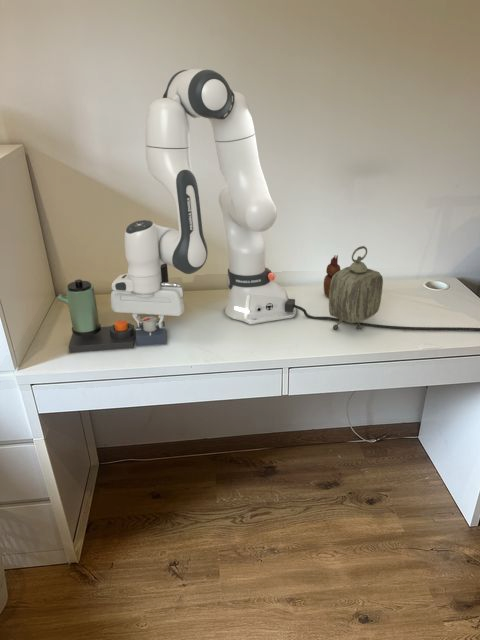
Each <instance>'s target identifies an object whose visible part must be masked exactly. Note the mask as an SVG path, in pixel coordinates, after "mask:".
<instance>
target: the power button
mask: <svg viewBox="0 0 480 640" xmlns="http://www.w3.org/2000/svg"><path fill="white" fill-rule="evenodd" d="M128 323H129V322H128V321H127V320H126V319H119V320H115V321H114V322H113V325H115V330H116V331H124V330H127V329H128Z"/></svg>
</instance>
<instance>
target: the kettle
mask: <svg viewBox="0 0 480 640" xmlns="http://www.w3.org/2000/svg"><path fill="white" fill-rule="evenodd" d="M65 294H66V296H64V295H62V294H60V293H59V294H58V296H57V298H56V300H58V301H60V302H61V303H64V304H65V305H68V310H69V316H70V320H71V321H70V322H71V332H72V334H74V335H77V336H90V335H94V334H96V333H98V332H99V331H100V330H101V327H102V325H101V323H100V319H99V313H98V307H97V301H96V293H95V288H94V284H93V283H92V282H90V281H88V280H82V279H75V280H74V281H72V282H70V283H68V284H67V285H66V286H65Z"/></svg>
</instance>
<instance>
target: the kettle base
mask: <svg viewBox="0 0 480 640" xmlns="http://www.w3.org/2000/svg"><path fill="white" fill-rule="evenodd" d="M127 323H128V329H127V330H124V331H116V330H115V325H114V324H112V325H111V326H108V325H107V326H101V330H100V331H99V332H98V333H96V334H94V335H90V336H77V335H74V334H73V333H72V334H71V337H70V340H69V344H68V350H69V351H68V352H69V353H70V354H75V353H87V352H88V353H89V352H100V351H103V352H104V351H114V350H115V351H117V350H128V349H129V350H130V349H134V342H135V324H131V322H127Z"/></svg>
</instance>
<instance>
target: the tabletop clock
mask: <svg viewBox="0 0 480 640" xmlns="http://www.w3.org/2000/svg"><path fill="white" fill-rule="evenodd" d="M359 250H365V253H364V255H363V256H362V257H361V255H358V256H357V258H356V259H354V256H355V254H356V253H357V252H358V251H359ZM367 255H368V248H367V247H366V246H365V245H361V246H359V247H356V249H354V251H353V252H352V254H351V261H352V263H351V264H350V265H349V266H346V267H344V268H342V269H340V271H338V272H337V273H335V274H334V275H333V277H332V280H331V285H330V292H329V297H328V314H329V316H330V317H333V318H338V319H340V320H339V321H337V323H336V324H333V326H332V329H333V330H335V331H336V330H338V329H339V326H340V324H341V323H343V322H342V321H346V322H348V323H347V324H350V323H357V322H358V325H355V326H356V327H355V328H356V329H357V330H360V331H361V329H362V328H363V326H362V325H360V322H363V321H366V320H368V319H369V318H371V317H374V316H375V315H376V314H377V313H379V310H380V306H381V303H382V302H381V301H382V295H383V285H384V279H383V275H382V274H381V272H379V271H378V270H374V269H370V268H368V267H367V265H366V264H365V263H364V262H363V260H364V259H365V258H366V256H367Z"/></svg>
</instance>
